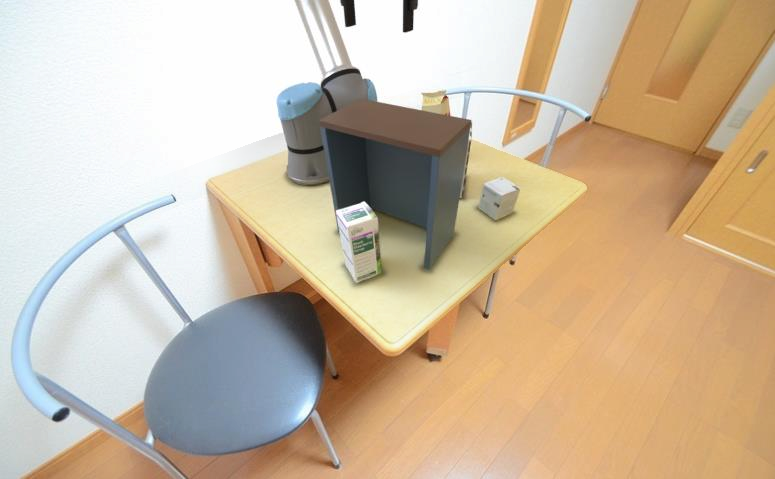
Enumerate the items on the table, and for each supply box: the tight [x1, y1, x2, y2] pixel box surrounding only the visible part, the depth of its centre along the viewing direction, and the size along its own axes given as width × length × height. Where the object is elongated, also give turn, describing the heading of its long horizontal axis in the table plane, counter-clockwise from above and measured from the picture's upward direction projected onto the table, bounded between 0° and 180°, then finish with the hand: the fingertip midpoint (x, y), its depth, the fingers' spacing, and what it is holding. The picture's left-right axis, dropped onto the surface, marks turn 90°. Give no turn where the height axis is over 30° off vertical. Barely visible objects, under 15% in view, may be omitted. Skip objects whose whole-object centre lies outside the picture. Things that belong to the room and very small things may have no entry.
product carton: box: [478, 176, 522, 221], centre depth 75 cm, size 6×6×7 cm
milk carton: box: [420, 89, 452, 116], centre depth 93 cm, size 9×9×20 cm
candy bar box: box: [459, 119, 473, 199], centre depth 81 cm, size 11×5×16 cm, turn 168°
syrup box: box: [336, 201, 382, 284], centre depth 60 cm, size 6×6×14 cm
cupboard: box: [319, 99, 472, 271], centre depth 64 cm, size 23×13×26 cm, turn 58°
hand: (378, 28), depth 63 cm, fingers open, 13 cm apart
